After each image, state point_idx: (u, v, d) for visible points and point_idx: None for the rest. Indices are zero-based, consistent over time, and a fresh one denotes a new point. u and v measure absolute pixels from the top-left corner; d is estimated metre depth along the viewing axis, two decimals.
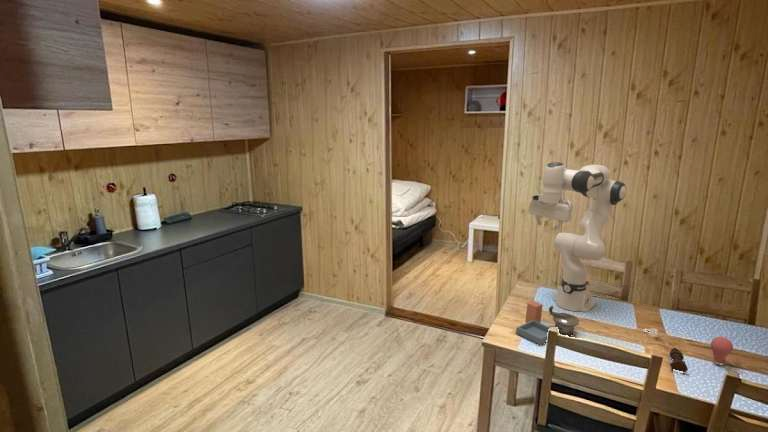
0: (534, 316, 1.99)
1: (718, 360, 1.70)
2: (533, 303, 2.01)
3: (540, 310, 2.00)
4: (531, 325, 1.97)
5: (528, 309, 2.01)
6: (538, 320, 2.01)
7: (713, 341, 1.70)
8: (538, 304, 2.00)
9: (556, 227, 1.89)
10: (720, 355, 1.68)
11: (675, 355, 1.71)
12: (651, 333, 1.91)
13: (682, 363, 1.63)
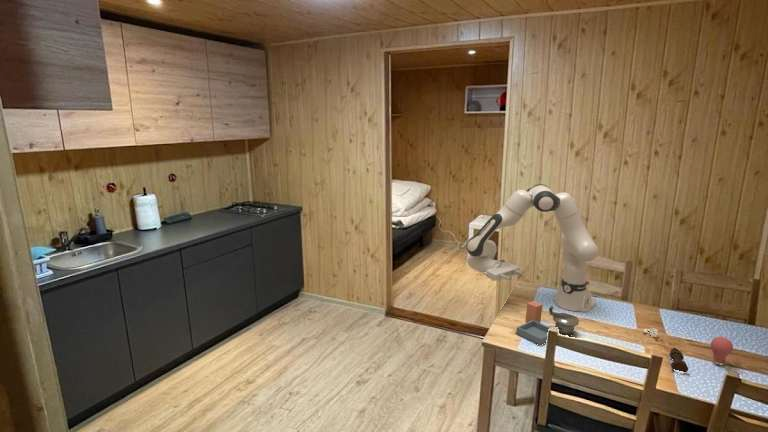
0: (534, 316, 1.99)
1: (718, 360, 1.70)
2: (533, 303, 2.01)
3: (540, 310, 2.00)
4: (531, 325, 1.97)
5: (528, 309, 2.01)
6: (538, 320, 2.01)
7: (713, 341, 1.70)
8: (538, 304, 2.00)
9: None
10: (720, 355, 1.68)
11: (675, 355, 1.71)
12: (651, 333, 1.91)
13: (683, 363, 1.63)
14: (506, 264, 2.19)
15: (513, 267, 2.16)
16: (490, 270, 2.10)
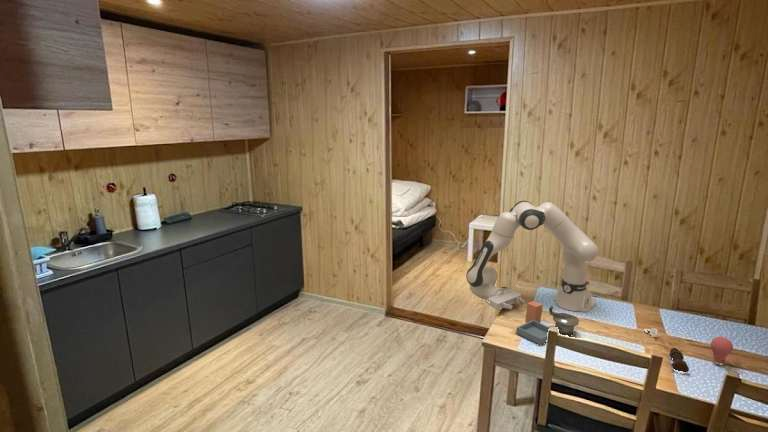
0: (534, 316, 1.99)
1: (718, 360, 1.70)
2: (533, 303, 2.01)
3: (540, 310, 2.00)
4: (531, 325, 1.97)
5: (528, 309, 2.01)
6: (538, 320, 2.01)
7: (713, 341, 1.70)
8: (538, 304, 2.00)
9: None
10: (720, 355, 1.68)
11: (675, 355, 1.71)
12: (651, 333, 1.91)
13: (684, 363, 1.63)
14: (508, 291, 2.20)
15: (515, 294, 2.17)
16: (492, 298, 2.12)
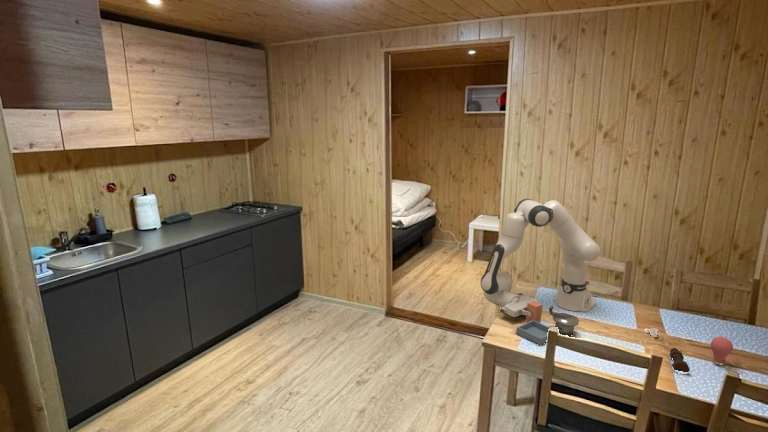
0: (534, 316, 1.99)
1: (718, 360, 1.70)
2: (533, 303, 2.01)
3: (540, 310, 2.00)
4: (531, 325, 1.97)
5: (528, 309, 2.01)
6: (538, 320, 2.01)
7: (713, 341, 1.70)
8: (538, 304, 2.00)
9: None
10: (720, 355, 1.68)
11: (676, 355, 1.71)
12: (652, 333, 1.91)
13: (684, 364, 1.63)
14: (524, 298, 2.12)
15: None
16: (509, 305, 2.04)
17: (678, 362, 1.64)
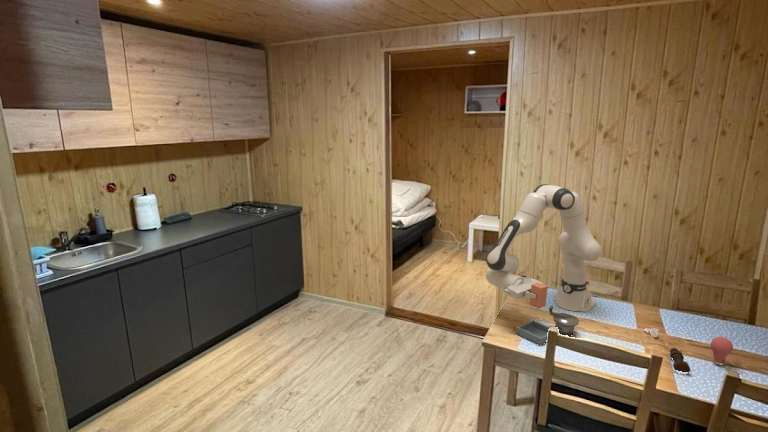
0: (539, 298, 1.86)
1: (718, 360, 1.70)
2: (538, 284, 1.89)
3: (545, 291, 1.87)
4: (531, 325, 1.97)
5: (532, 291, 1.88)
6: (543, 303, 1.88)
7: (713, 341, 1.70)
8: (543, 285, 1.87)
9: None
10: (720, 355, 1.68)
11: (676, 355, 1.71)
12: (652, 333, 1.91)
13: (685, 364, 1.63)
14: (528, 280, 1.99)
15: None
16: (512, 287, 1.91)
17: (679, 362, 1.64)
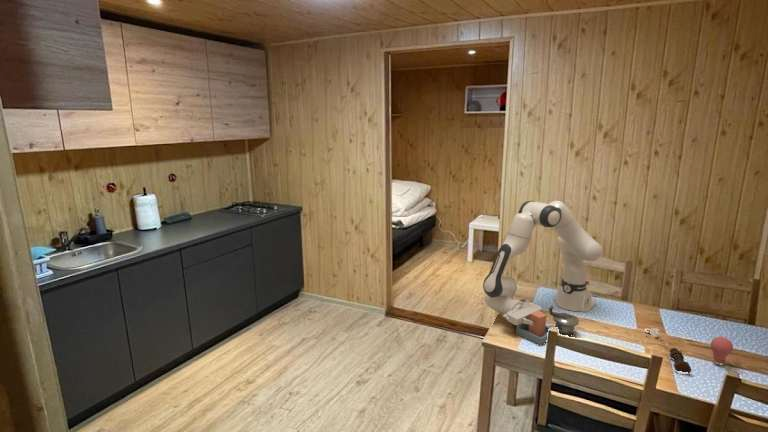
0: (538, 327, 1.86)
1: (718, 360, 1.70)
2: (536, 313, 1.89)
3: (544, 321, 1.87)
4: None
5: None
6: (542, 332, 1.88)
7: (713, 341, 1.70)
8: (542, 315, 1.87)
9: None
10: (720, 355, 1.68)
11: (676, 356, 1.71)
12: (652, 333, 1.91)
13: (686, 364, 1.63)
14: (528, 304, 1.99)
15: (536, 308, 1.96)
16: (511, 313, 1.91)
17: (680, 362, 1.64)
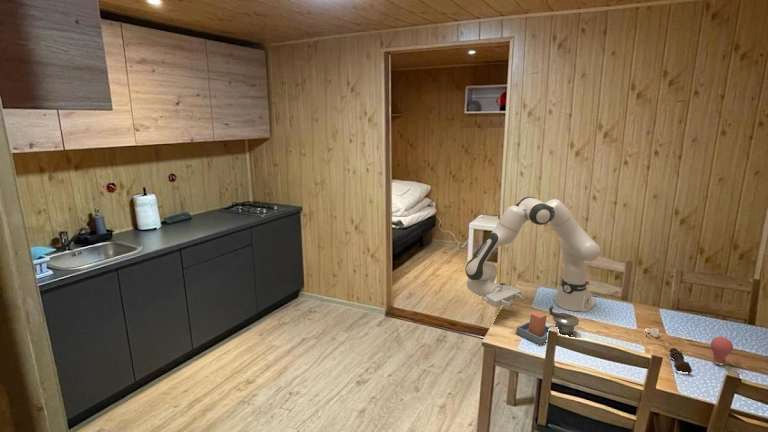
0: (538, 327, 1.86)
1: (718, 360, 1.70)
2: (536, 313, 1.89)
3: (544, 321, 1.87)
4: None
5: (531, 320, 1.88)
6: (542, 332, 1.88)
7: (713, 341, 1.70)
8: (542, 315, 1.87)
9: None
10: (720, 355, 1.68)
11: (676, 356, 1.70)
12: (652, 333, 1.91)
13: (687, 364, 1.63)
14: (507, 287, 2.09)
15: (514, 291, 2.06)
16: (490, 295, 2.01)
17: (680, 363, 1.64)
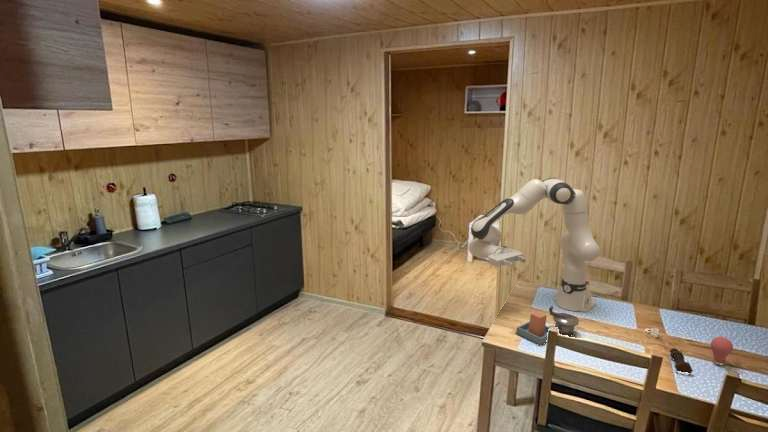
0: (538, 327, 1.86)
1: (718, 360, 1.70)
2: (536, 313, 1.89)
3: (544, 321, 1.87)
4: None
5: (531, 320, 1.88)
6: (542, 332, 1.88)
7: (713, 341, 1.70)
8: (542, 315, 1.87)
9: None
10: (720, 355, 1.68)
11: (677, 356, 1.70)
12: (652, 333, 1.91)
13: (687, 365, 1.63)
14: (509, 250, 2.09)
15: (516, 253, 2.06)
16: (492, 256, 2.01)
17: (681, 363, 1.63)
